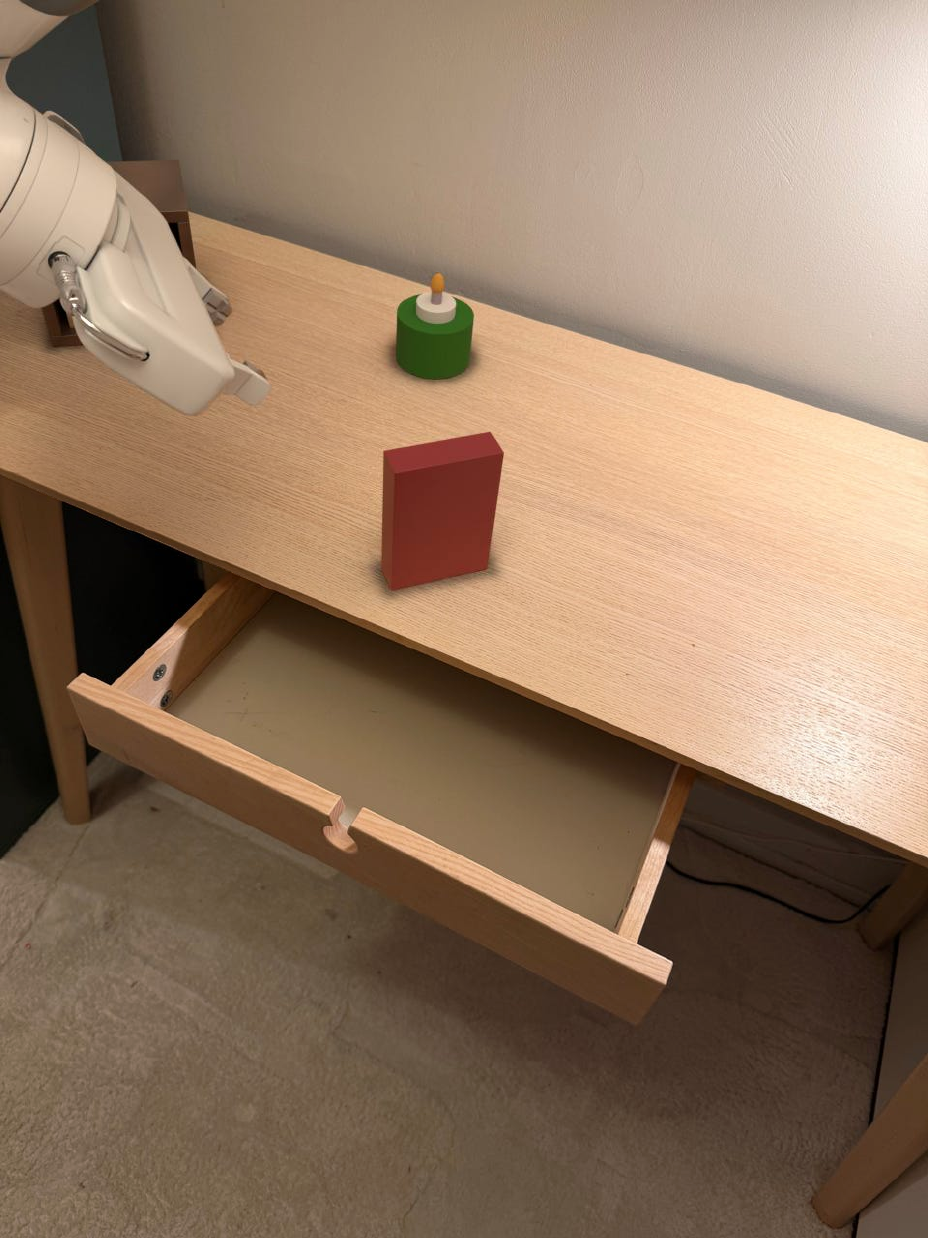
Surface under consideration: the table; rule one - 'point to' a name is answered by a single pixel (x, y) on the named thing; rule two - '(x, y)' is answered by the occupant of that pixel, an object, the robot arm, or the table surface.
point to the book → (439, 508)
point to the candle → (434, 333)
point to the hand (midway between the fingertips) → (242, 350)
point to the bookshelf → (168, 196)
